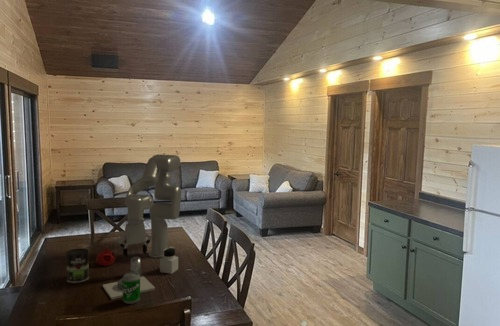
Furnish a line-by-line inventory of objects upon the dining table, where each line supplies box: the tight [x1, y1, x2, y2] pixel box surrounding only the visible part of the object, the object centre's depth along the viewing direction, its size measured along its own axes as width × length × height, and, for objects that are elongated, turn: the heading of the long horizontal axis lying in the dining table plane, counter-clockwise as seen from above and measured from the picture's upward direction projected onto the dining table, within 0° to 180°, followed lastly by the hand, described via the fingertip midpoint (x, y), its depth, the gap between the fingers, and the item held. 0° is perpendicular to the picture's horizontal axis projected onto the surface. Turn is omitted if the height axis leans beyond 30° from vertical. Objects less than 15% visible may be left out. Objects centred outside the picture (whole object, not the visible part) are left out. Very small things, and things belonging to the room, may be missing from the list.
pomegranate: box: [95, 247, 116, 267], centre depth 216 cm, size 10×10×9 cm
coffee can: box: [65, 248, 90, 284], centre depth 195 cm, size 10×10×14 cm
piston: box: [130, 256, 142, 277], centre depth 202 cm, size 5×5×9 cm
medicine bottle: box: [159, 248, 179, 275], centre depth 209 cm, size 7×7×12 cm
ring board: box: [102, 275, 156, 300], centre depth 186 cm, size 20×16×4 cm
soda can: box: [121, 271, 141, 305], centre depth 172 cm, size 8×8×12 cm
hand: (135, 254), depth 200 cm, fingers open, 9 cm apart
